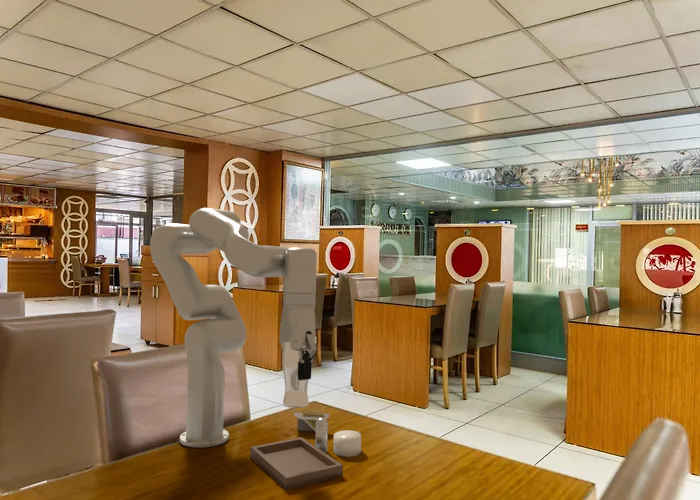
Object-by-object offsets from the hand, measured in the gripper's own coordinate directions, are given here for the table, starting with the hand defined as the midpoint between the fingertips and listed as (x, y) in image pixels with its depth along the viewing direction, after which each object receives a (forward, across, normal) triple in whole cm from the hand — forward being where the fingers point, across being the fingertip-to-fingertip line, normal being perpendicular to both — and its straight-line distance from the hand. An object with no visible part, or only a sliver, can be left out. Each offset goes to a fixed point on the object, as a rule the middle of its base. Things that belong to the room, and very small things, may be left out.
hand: (296, 375), depth 121 cm
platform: (+22, -19, +15) cm, 33 cm away
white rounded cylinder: (+21, -2, +16) cm, 27 cm away
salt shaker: (+21, -5, +10) cm, 24 cm away
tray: (+21, 0, 0) cm, 21 cm away
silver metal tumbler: (+7, 0, 0) cm, 7 cm away
